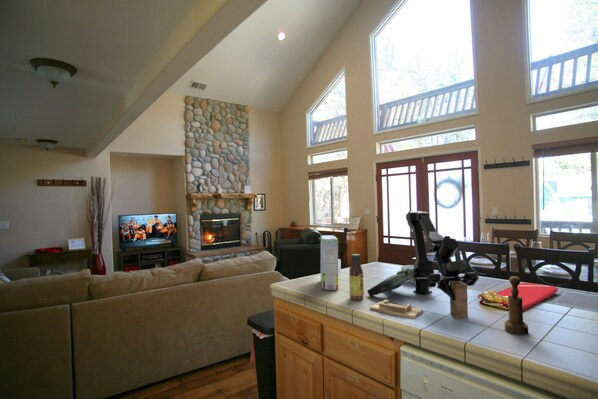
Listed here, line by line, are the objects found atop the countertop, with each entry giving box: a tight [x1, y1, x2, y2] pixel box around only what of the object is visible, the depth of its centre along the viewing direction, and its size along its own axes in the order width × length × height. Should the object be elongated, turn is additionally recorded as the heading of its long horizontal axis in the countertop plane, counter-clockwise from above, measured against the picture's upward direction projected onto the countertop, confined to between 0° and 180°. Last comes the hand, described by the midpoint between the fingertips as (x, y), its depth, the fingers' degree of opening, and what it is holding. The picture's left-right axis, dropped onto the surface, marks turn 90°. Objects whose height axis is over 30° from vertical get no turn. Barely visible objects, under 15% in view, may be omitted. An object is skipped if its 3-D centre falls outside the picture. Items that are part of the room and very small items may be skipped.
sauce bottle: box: [348, 253, 365, 301], centre depth 150 cm, size 7×6×20 cm
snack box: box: [320, 234, 339, 291], centre depth 175 cm, size 22×9×26 cm, turn 179°
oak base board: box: [369, 299, 424, 319], centre depth 132 cm, size 10×18×3 cm, turn 52°
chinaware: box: [400, 264, 416, 284], centre depth 178 cm, size 15×15×8 cm
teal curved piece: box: [367, 268, 413, 297], centre depth 154 cm, size 20×6×20 cm
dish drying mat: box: [479, 282, 559, 311], centre depth 144 cm, size 16×41×4 cm, turn 125°
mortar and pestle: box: [504, 275, 529, 336], centre depth 109 cm, size 7×6×18 cm
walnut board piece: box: [449, 281, 469, 320], centre depth 124 cm, size 5×4×12 cm
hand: (460, 299), depth 123 cm, fingers open, 4 cm apart
